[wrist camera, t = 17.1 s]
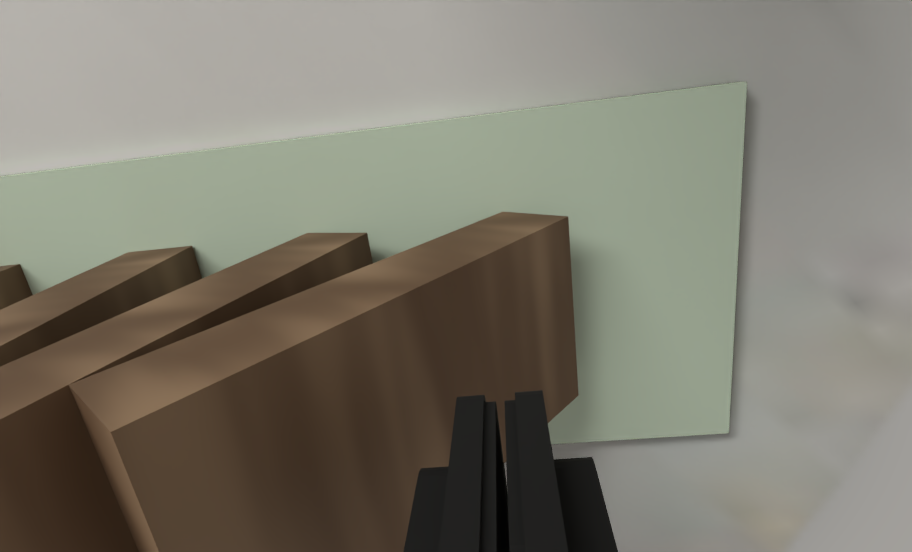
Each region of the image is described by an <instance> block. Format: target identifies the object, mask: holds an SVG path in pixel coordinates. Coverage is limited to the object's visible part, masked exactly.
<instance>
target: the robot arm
mask: <svg viewBox="0 0 912 552" xmlns="http://www.w3.org/2000/svg"><path fill="white" fill-rule="evenodd" d="M504 402H505V432H506V461H507V485H506V477H505V469H504V461H503V452H502V444H501V436H500V428H499V420H498V412H497V405H496V401H494V402H486V399H485V395H475V396H462V397H457V399H456V406H455V415H454V423H453V432H452V441H451V449H450V458H449V466H448V467H432V468H421V469H420V471H419V474H418V478H417V484H416V489H415V494H414V499H413V504H412V510H411V515H410V520H409V525H408V531H407V536H406V541H405V546H404V551H403V552H618V550H617V547H616V543H615V539H614V535H613V532H612V528H611V524H610V520H609V517H608V513H607V509H606V505H605V501H604V498H603V494H602V490H601V486H600V483H599V479H598V475H597V471H596V468H595V464H594V461H593V459H592V457H587V458H571V459H556V460H554V459H553V453H552V447H551V441H550V434H549V428H548V422H547V416H546V409H545V403H544V397H543V391H542V390H539V391H526V392H515V400H507V401H504ZM507 490H508V493H507Z"/></svg>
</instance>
